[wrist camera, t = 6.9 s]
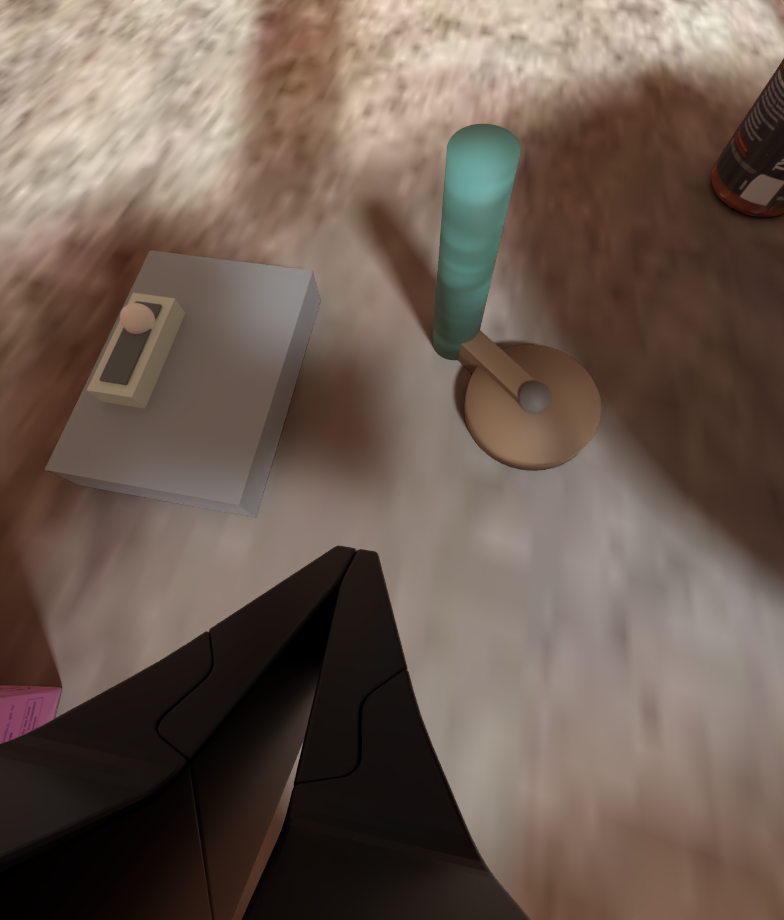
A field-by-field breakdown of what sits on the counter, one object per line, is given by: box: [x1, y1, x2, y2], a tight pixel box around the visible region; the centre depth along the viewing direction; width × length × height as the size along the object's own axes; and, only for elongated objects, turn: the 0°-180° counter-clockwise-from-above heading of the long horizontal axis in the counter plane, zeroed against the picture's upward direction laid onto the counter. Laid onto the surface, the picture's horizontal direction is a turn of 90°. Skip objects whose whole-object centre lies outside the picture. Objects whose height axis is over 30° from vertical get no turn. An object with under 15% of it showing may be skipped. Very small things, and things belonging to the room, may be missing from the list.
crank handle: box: [432, 124, 601, 471], centre depth 20 cm, size 7×11×12 cm, turn 24°
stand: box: [45, 250, 321, 518], centre depth 24 cm, size 14×10×5 cm
